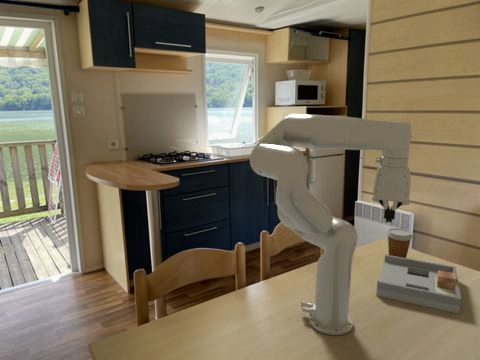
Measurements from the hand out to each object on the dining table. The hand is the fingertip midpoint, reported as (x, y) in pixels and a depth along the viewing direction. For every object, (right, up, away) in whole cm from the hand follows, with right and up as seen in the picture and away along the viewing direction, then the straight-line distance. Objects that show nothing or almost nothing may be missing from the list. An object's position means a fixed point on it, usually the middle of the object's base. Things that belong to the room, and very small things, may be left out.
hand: (388, 221), depth 115 cm
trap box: (+16, -25, +14) cm, 33 cm away
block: (+23, -23, +10) cm, 34 cm away
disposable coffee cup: (+18, -20, +37) cm, 46 cm away
